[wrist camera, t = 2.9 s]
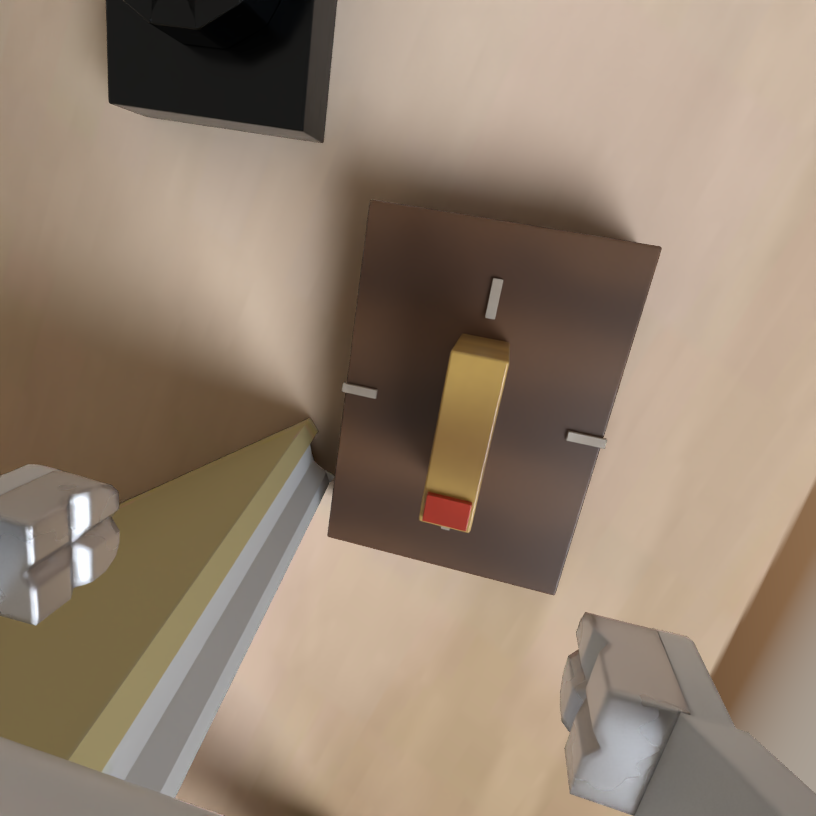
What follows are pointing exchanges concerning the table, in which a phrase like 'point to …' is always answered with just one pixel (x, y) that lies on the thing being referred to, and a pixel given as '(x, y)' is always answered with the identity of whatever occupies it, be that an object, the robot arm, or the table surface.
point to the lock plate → (523, 390)
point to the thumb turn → (464, 431)
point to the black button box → (224, 63)
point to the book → (163, 616)
